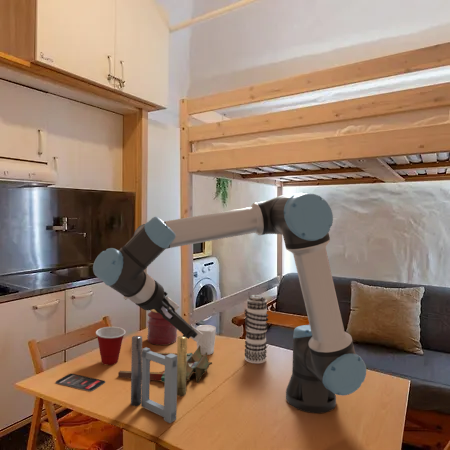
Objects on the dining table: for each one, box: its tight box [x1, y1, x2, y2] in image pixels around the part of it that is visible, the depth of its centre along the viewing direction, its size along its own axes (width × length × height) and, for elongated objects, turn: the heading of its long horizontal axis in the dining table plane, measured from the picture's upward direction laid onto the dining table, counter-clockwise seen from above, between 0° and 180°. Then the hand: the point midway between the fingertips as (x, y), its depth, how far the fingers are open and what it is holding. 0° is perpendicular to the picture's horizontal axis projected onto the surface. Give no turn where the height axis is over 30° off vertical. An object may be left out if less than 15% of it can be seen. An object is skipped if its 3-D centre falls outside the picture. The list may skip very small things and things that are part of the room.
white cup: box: [195, 324, 217, 356], centre depth 152 cm, size 8×8×10 cm
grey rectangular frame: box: [140, 346, 178, 424], centre depth 105 cm, size 12×2×18 cm, turn 54°
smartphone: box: [55, 373, 106, 392], centre depth 123 cm, size 7×1×15 cm
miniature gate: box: [117, 346, 213, 384], centre depth 134 cm, size 27×6×30 cm
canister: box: [147, 309, 178, 346], centre depth 165 cm, size 13×13×18 cm
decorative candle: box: [244, 294, 269, 364], centre depth 146 cm, size 9×9×25 cm
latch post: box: [176, 335, 188, 397], centre depth 117 cm, size 3×3×18 cm
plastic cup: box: [95, 326, 126, 366], centre depth 140 cm, size 11×11×12 cm
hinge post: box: [130, 335, 143, 407], centre depth 111 cm, size 3×3×20 cm
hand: (187, 322), depth 109 cm, fingers open, 13 cm apart
